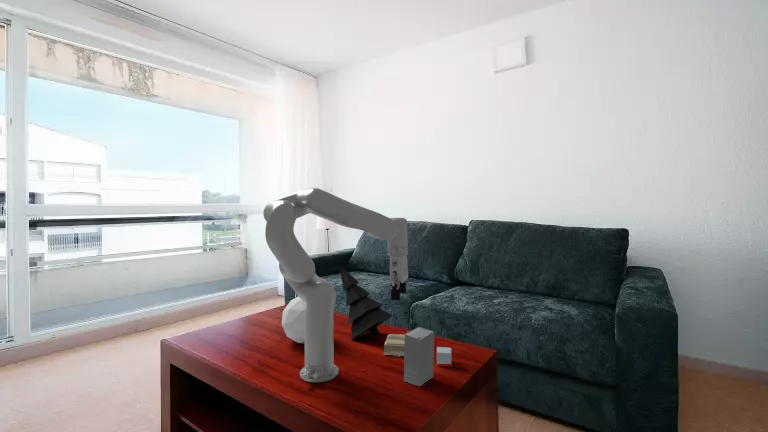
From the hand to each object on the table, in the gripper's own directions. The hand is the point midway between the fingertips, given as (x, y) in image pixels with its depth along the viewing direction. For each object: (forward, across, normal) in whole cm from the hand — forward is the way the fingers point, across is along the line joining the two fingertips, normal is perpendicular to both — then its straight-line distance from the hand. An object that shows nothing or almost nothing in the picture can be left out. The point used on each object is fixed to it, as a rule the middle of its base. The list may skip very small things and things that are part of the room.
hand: (398, 296), depth 136 cm
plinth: (+22, +4, 0) cm, 22 cm away
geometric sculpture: (+22, +2, +41) cm, 46 cm away
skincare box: (+22, -19, -11) cm, 31 cm away
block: (+22, -4, -17) cm, 28 cm away
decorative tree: (+22, +15, +21) cm, 34 cm away
